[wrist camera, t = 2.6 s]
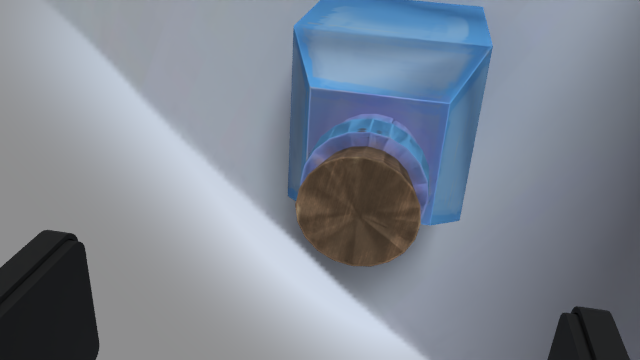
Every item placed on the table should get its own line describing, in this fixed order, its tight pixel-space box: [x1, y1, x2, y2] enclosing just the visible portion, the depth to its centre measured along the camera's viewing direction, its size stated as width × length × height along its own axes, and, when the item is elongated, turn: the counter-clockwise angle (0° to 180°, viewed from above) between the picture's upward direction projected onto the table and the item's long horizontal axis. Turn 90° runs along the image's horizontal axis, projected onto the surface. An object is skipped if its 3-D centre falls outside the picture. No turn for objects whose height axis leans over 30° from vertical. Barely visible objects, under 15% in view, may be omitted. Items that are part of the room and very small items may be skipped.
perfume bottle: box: [288, 0, 493, 266], centre depth 20 cm, size 6×6×12 cm
